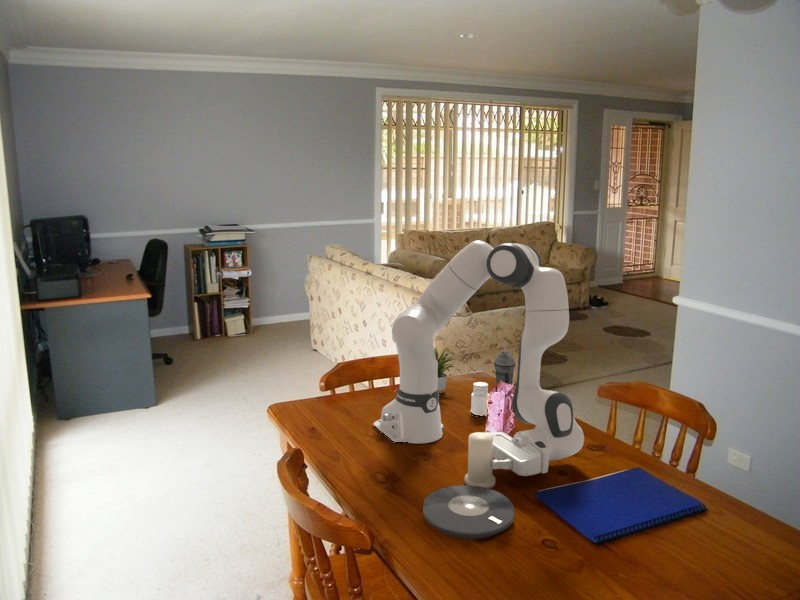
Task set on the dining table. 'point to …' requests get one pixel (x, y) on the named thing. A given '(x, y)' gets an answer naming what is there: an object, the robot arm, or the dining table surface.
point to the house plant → (442, 368)
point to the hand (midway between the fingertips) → (481, 457)
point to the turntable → (468, 510)
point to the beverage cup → (504, 367)
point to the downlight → (479, 398)
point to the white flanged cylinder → (480, 460)
